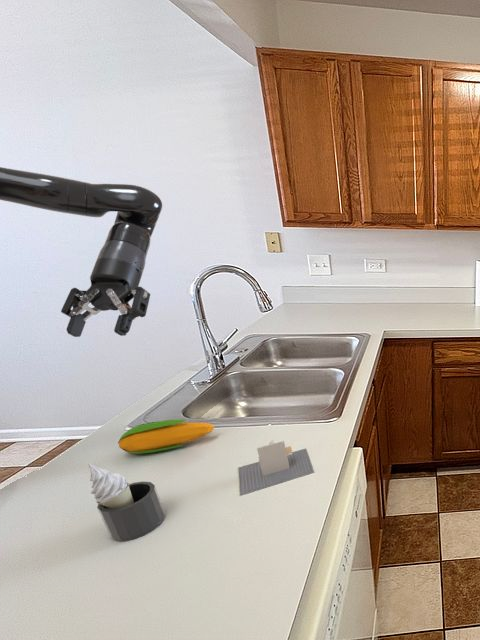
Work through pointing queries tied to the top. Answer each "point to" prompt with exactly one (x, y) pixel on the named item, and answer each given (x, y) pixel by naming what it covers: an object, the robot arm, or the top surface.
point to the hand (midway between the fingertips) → (96, 334)
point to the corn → (162, 435)
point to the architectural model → (274, 467)
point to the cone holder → (134, 514)
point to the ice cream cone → (110, 488)
